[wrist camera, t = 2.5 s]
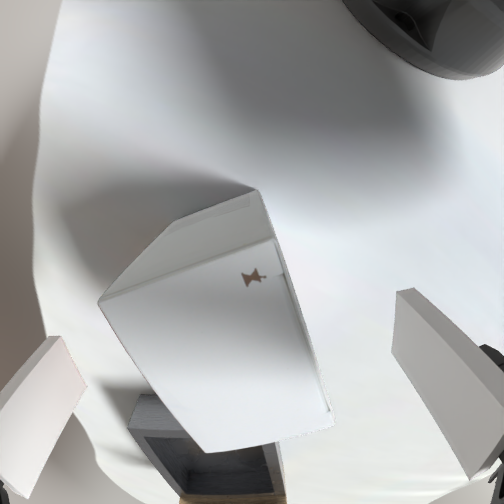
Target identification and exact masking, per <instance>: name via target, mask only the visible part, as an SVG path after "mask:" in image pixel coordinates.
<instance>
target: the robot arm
mask: <svg viewBox="0 0 504 504" xmlns="http://www.w3.org/2000/svg"><path fill="white" fill-rule="evenodd" d="M343 2H344V3H345V4H346V6H347V7H348V9H349V10H350V11H351V12H352V13H353V15H354V16H355V17H356V18H357V19H358V20H359V22H360V23H361V24H362V25H363V26H364V27H365V28H366V29H367V30H368V31H369V32H370V33H371V34H372V35H374V36H375V37H376V38H377V39H378V40H379V41H380V42H382V43H383V44H384V45H385V46H386V47H388V48H389V49H390V50H392V51H393V52H394V53H396V54H397V55H398V56H400V57H402V58H403V59H405V60H406V61H408V62H409V63H411V64H413V65H414V66H416V67H418V68H420V69H422V70H424V71H426V72H428V73H431V74H433V75H436V76H439V77H442V78H446V79H451V80H468V79H473V78H477V77H481V76H486V75H489V74H491V73H493V72H495V71H497V70H498V69H500V68H501V67H502V66H503V65H504V0H343ZM391 353H392V354H393V356H394V357H395V359H396V360H397V362H398V363H399V365H400V366H401V368H402V369H403V371H404V372H405V374H406V375H407V377H408V378H409V380H410V381H411V383H412V384H413V386H414V388H415V389H416V391H417V392H418V394H419V395H420V397H421V399H422V400H423V402H424V403H425V405H426V407H427V408H428V410H429V411H430V413H431V415H432V416H433V418H434V420H435V421H436V423H437V425H438V426H439V428H440V429H441V431H442V433H443V435H444V436H445V438H446V440H447V441H448V443H449V445H450V446H451V448H452V450H453V452H454V453H455V455H456V457H457V459H458V461H459V462H460V464H461V466H462V468H463V469H464V471H465V473H466V475H467V477H468V479H469V481H470V480H472V479H473V478H475V477H477V476H478V475H480V474H482V473H483V472H485V471H486V470H488V469H490V467H491V466H492V465H493V464H494V462H495V461H496V460H497V459H498V457H499V458H500V460H501V461H502V464H501V465H500V466H499V467H498V468H497V470H496V471H495V472H494V473H493V474H492V476H491V477H490V479H489V481H488V483H491V482H492V481H493V480H494V479H495V478H496V477H497V480H496V482H495V483H496V485H495V489H494V493H493V497H492V501H491V504H504V356H503V355H502V354H501V353H500V352H499V351H498V350H496V349H494V348H492V347H490V346H488V345H486V344H484V345H482V346H479V347H478V346H477V345H476V344H475V343H474V342H473V341H472V340H471V339H470V338H469V337H468V336H467V335H466V334H465V333H464V332H463V331H462V330H461V329H459V328H458V327H457V326H456V325H455V324H454V323H453V322H452V321H451V320H450V319H449V318H448V317H447V316H445V315H444V314H443V313H442V312H441V311H440V310H439V309H438V308H437V307H436V306H434V305H433V304H432V303H431V302H430V301H429V300H428V299H427V298H425V297H424V296H423V295H422V294H421V293H420V292H419V291H417V290H416V289H415V288H410V289H406V290H402V291H397V292H396V307H395V320H394V331H393V341H392V350H391ZM86 388H87V385H86V383H85V382H84V380H83V378H82V376H81V374H80V372H79V371H78V369H77V367H76V365H75V363H74V361H73V359H72V357H71V355H70V353H69V351H68V349H67V347H66V345H65V343H64V341H63V338H62V336H49V337H48V338H47V339H46V340H45V341H44V342H43V343H42V344H41V345H40V347H39V348H38V349H37V350H36V351H35V352H34V353H33V354H32V356H31V357H30V358H29V359H28V360H27V361H26V362H25V364H24V365H23V366H22V367H21V368H20V369H19V370H18V372H17V373H16V374H15V375H14V377H13V378H12V379H11V380H10V381H9V382H8V384H7V385H6V386H5V387H4V389H3V390H2V391H1V392H0V504H10V503H9V498H8V494H7V491H6V490H5V489H4V488H3V485H4V484H5V485H6V486H8V487H9V488H10V489H11V490H12V491H13V492H14V493H16V494H18V495H20V496H22V497H24V498H26V499H29V497H30V494H31V492H32V490H33V488H34V486H35V483H36V481H37V479H38V477H39V475H40V473H41V471H42V469H43V467H44V465H45V463H46V460H47V459H48V457H49V455H50V453H51V451H52V449H53V447H54V445H55V443H56V441H57V439H58V437H59V436H60V434H61V432H62V430H63V428H64V426H65V425H66V423H67V421H68V419H69V417H70V416H71V414H72V412H73V410H74V408H75V407H76V405H77V403H78V401H79V400H80V398H81V396H82V394H83V393H84V391H85V389H86Z"/></svg>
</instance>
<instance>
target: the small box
mask: <svg viewBox="0 0 504 504" xmlns="http://www.w3.org/2000/svg"><path fill="white" fill-rule="evenodd" d="M97 303H98V306H99V307H100V309H101V311H102V312H103V314H104V316H105V318H106V319H107V321H108V323H109V324H110V326H111V328H112V329H113V331H114V332H115V334H116V336H117V337H118V339H119V341H120V342H121V344H122V345H123V347H124V349H125V350H126V352H127V353H128V354H129V356H130V357H131V359H132V360H133V362H134V363H135V365H136V366H137V368H138V369H139V371H140V372H141V373H142V375H143V376H144V378H145V379H146V381H147V382H148V383H149V385H150V386H151V387H152V389H153V390H154V391H155V393H156V394H157V395H158V397H159V398H160V400H161V401H162V402H163V403H164V405H165V406H166V407H167V408H168V410H169V411H170V412H171V413H172V415H173V416H174V417H175V418H176V420H177V421H178V422H179V423H180V425H181V426H182V427H183V428H184V429H185V431H186V432H187V433H188V434H189V435H190V436H191V437H192V439H193V440H194V441H195V442H196V443H197V444H198V445H199V447H200V448H201V449H202V450H203V451H204V452H205V453H213V452H223V451H230V450H236V449H242V448H248V447H253V446H259V445H264V444H268V443H273V442H277V441H282V440H286V439H290V438H294V437H298V436H302V435H305V434H309V433H312V432H316V431H319V430H323V429H326V428H329V427H332V426H333V425H335V423H336V418H335V415H334V412H333V408H332V405H331V402H330V399H329V395H328V392H327V389H326V386H325V383H324V379H323V376H322V373H321V370H320V367H319V364H318V360H317V357H316V354H315V351H314V348H313V345H312V342H311V339H310V336H309V333H308V330H307V326H306V323H305V320H304V317H303V314H302V311H301V308H300V305H299V302H298V299H297V296H296V293H295V290H294V287H293V284H292V281H291V278H290V275H289V272H288V269H287V266H286V263H285V260H284V257H283V254H282V251H281V248H280V245H279V242H278V239H277V237H276V234H275V231H274V228H273V226H272V223H271V220H270V217H269V215H268V212H267V209H266V206H265V204H264V201H263V199H262V196H261V194H260V192H259V190H255V191H252V192H249V193H247V194H244V195H241V196H238V197H235V198H233V199H230V200H227V201H224V202H222V203H219V204H216V205H214V206H211V207H209V208H206V209H203V210H201V211H198V212H195V213H193V214H190V215H188V216H185V217H183V218H180V219H178V220H175V221H173V222H172V223H171V224H170V225H169V226H168V227H167V228H166V229H165V230H164V231H163V232H162V233H161V234H160V235H159V236H158V237H157V238H156V239H155V240H154V241H153V242H152V243H151V244H150V245H149V246H148V247H147V248H146V249H145V250H144V251H143V252H142V253H141V254H140V255H139V256H138V257H137V258H136V259H135V260H134V261H133V262H132V263H131V264H130V265H129V266H128V267H127V268H126V269H125V270H124V271H123V273H122V274H121V275H120V276H119V277H118V278H117V279H116V280H115V281H114V282H113V283H112V284H111V285H110V287H109V288H108V289H107V290H106V291H105V292H104V293H103V295H102V296H101V297H100V298H99V300H98V302H97Z"/></svg>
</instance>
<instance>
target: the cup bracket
mask: <svg viewBox="0 0 504 504" xmlns="http://www.w3.org/2000/svg"><path fill="white" fill-rule="evenodd" d="M127 429H128V430H129V432H130V433H131V435H132V436H133V438H134V439H135V440H136V442H137V443H138V445H139V446H140V448H141V449H142V450H143V452H144V453H145V454H146V456H147V457H148V459H149V460H150V461H151V462H152V464H153V465H154V466H155V468H156V469H157V470H158V471H159V473H160V474H161V475H162V476H163V478H164V479H165V480H166V481H167V483H168V484H169V485H170V486H171V487H172V489H173V490H174V491H175V492H176V493H177V494H178V495H179V497H180V501H179V504H287V497H286V486H285V476H284V468H283V462H282V457H281V452H280V446H279V441H277V442H273V443H268V444H264V445H259V446H253V447H248V448H242V449H236V450H230V451H223V452H213V453H205V452H204V451H203V450H202V449H201V448H200V447H199V445H198V444H197V443H196V442H195V441H194V440H193V439H192V437H191V436H190V435H189V434H188V433H187V432H186V431H185V429H184V428H183V427H182V426H181V425H180V423H179V422H178V421H177V420H176V418H175V417H174V416H173V415H172V413H171V412H170V411H169V410H168V408H167V407H166V406H165V405H164V403H163V402H162V401H161V400H160V398H159V397H158V395H140V396H139V399H138V401H137V404H136V406H135V409H134V411H133V414H132V416H131V419H130V422H129V424H128V427H127Z"/></svg>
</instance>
